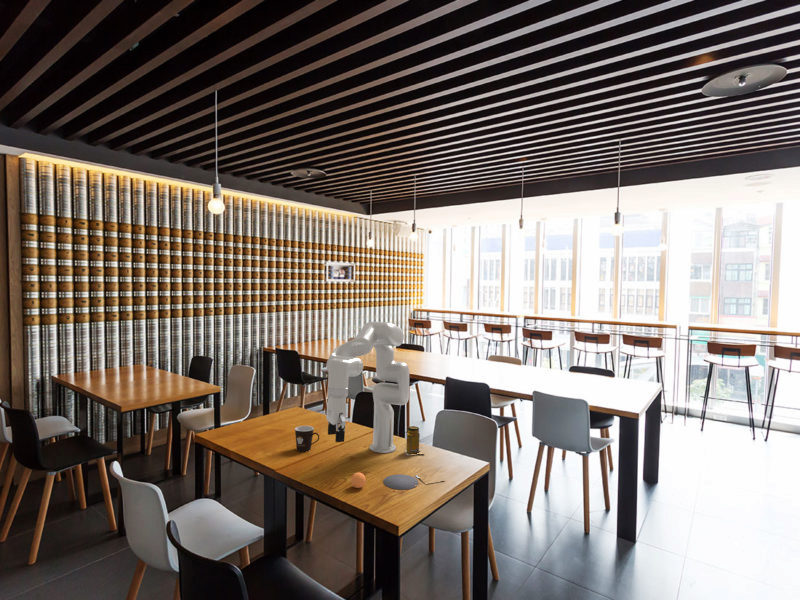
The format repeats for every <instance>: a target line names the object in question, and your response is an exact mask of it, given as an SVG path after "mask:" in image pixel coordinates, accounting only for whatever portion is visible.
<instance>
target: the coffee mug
mask: <svg viewBox="0 0 800 600" xmlns="http://www.w3.org/2000/svg"><path fill="white" fill-rule="evenodd" d="M314 430H315V428H314V427H313V426H310V425H300V426H296V427H295V428H294V433H295V445H296V451H297V452H298V451H299V453H307V452H306V451H308V452H310V451H311V449H312V445H314V444H315V443H317V442H318V441H320V435H319V433H318V432H314ZM314 435H317V439H316V440H315V441H314V442H313V437H314ZM309 450H310V451H309Z"/></svg>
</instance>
